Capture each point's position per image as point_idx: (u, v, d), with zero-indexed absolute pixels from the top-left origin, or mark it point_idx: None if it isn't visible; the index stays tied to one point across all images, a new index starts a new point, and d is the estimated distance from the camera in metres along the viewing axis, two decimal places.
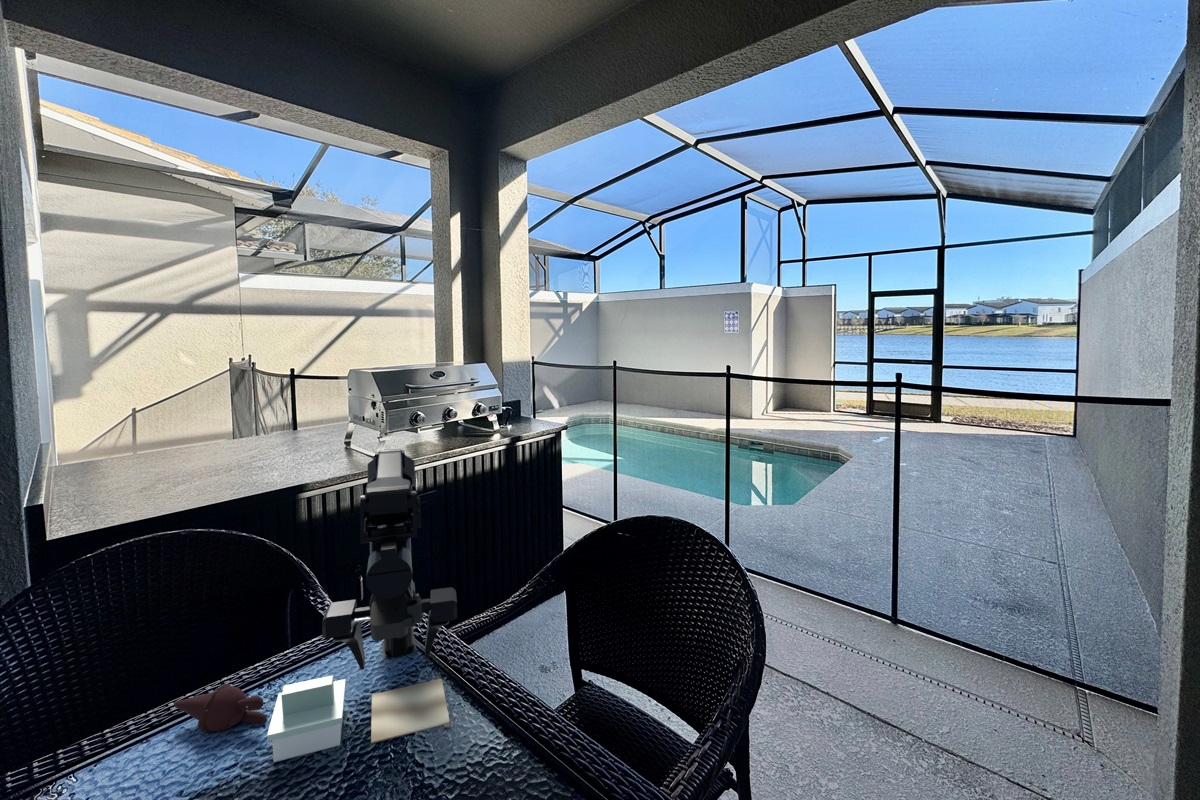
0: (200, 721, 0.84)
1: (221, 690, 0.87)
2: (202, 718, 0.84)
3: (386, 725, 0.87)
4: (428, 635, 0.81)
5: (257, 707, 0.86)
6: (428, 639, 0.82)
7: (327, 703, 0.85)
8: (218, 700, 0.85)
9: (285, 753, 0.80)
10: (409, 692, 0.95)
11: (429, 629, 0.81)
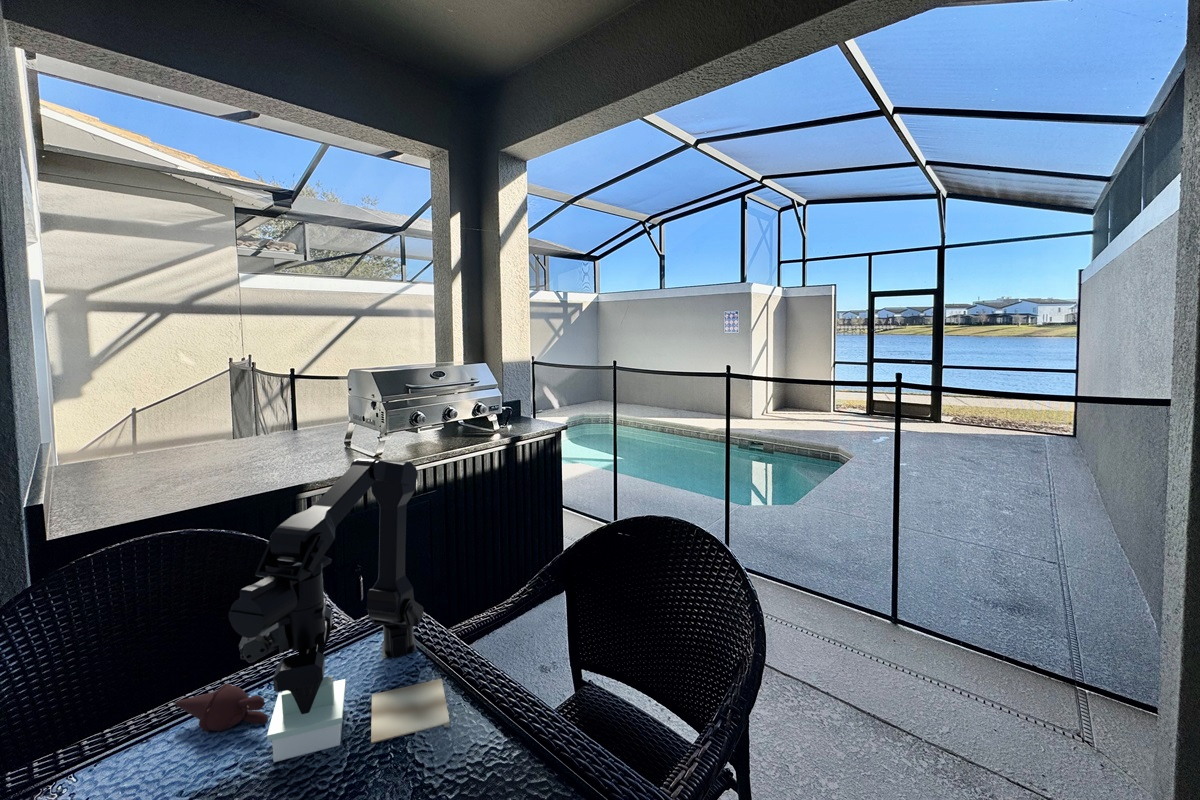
0: (201, 720, 0.84)
1: (222, 690, 0.87)
2: (203, 718, 0.84)
3: (386, 725, 0.87)
4: None
5: (258, 707, 0.86)
6: None
7: (327, 703, 0.85)
8: (219, 700, 0.85)
9: (285, 753, 0.80)
10: (409, 692, 0.95)
11: None
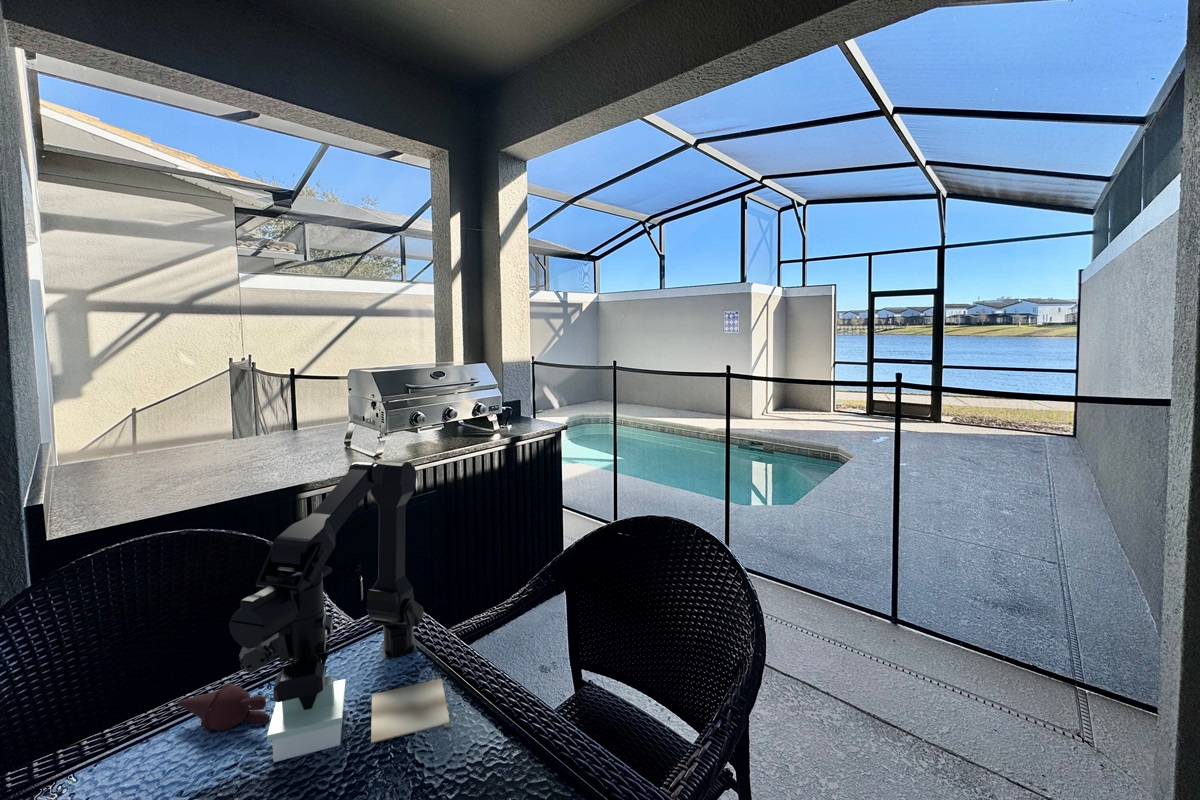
0: (203, 720, 0.84)
1: (224, 689, 0.87)
2: (205, 717, 0.84)
3: (386, 725, 0.87)
4: None
5: (260, 707, 0.86)
6: None
7: (327, 703, 0.85)
8: (221, 699, 0.85)
9: (285, 753, 0.80)
10: (409, 692, 0.95)
11: None
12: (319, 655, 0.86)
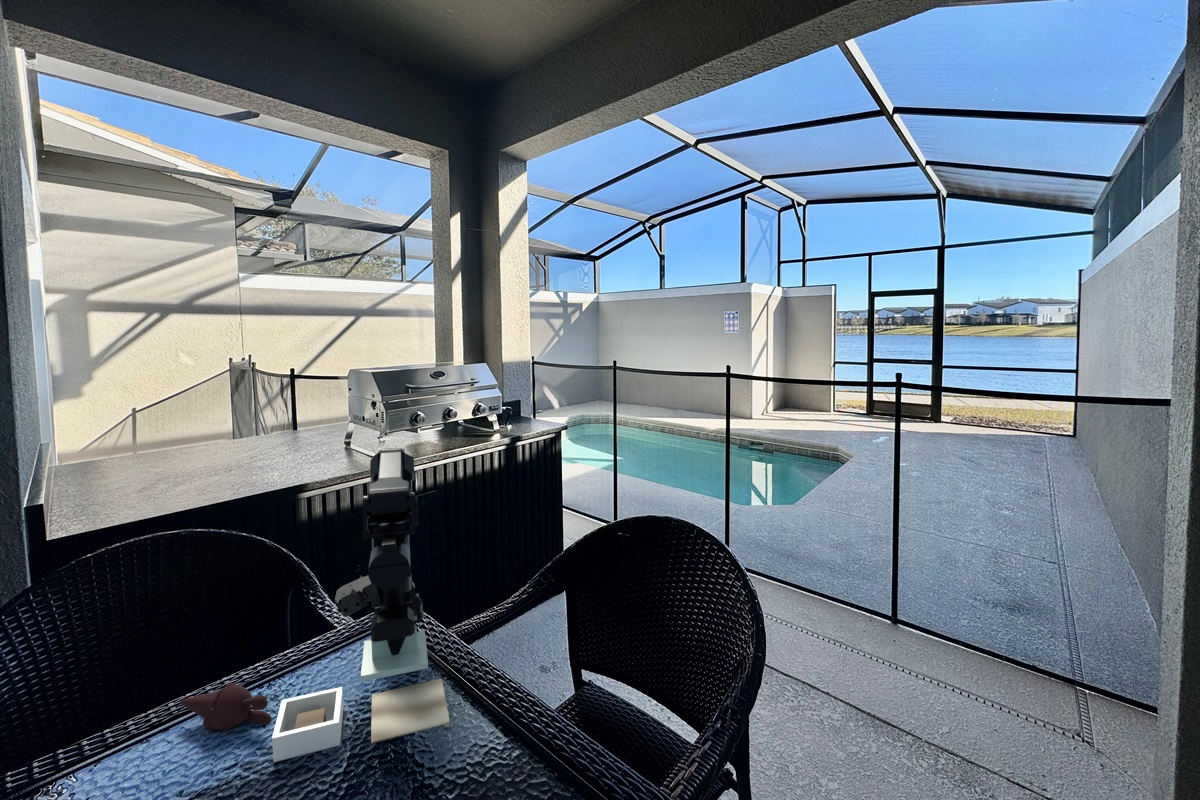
0: (205, 719, 0.84)
1: (226, 689, 0.87)
2: (207, 717, 0.84)
3: (386, 725, 0.87)
4: None
5: (261, 707, 0.86)
6: None
7: (412, 650, 0.89)
8: (223, 699, 0.85)
9: (285, 753, 0.80)
10: (409, 692, 0.95)
11: None
12: None
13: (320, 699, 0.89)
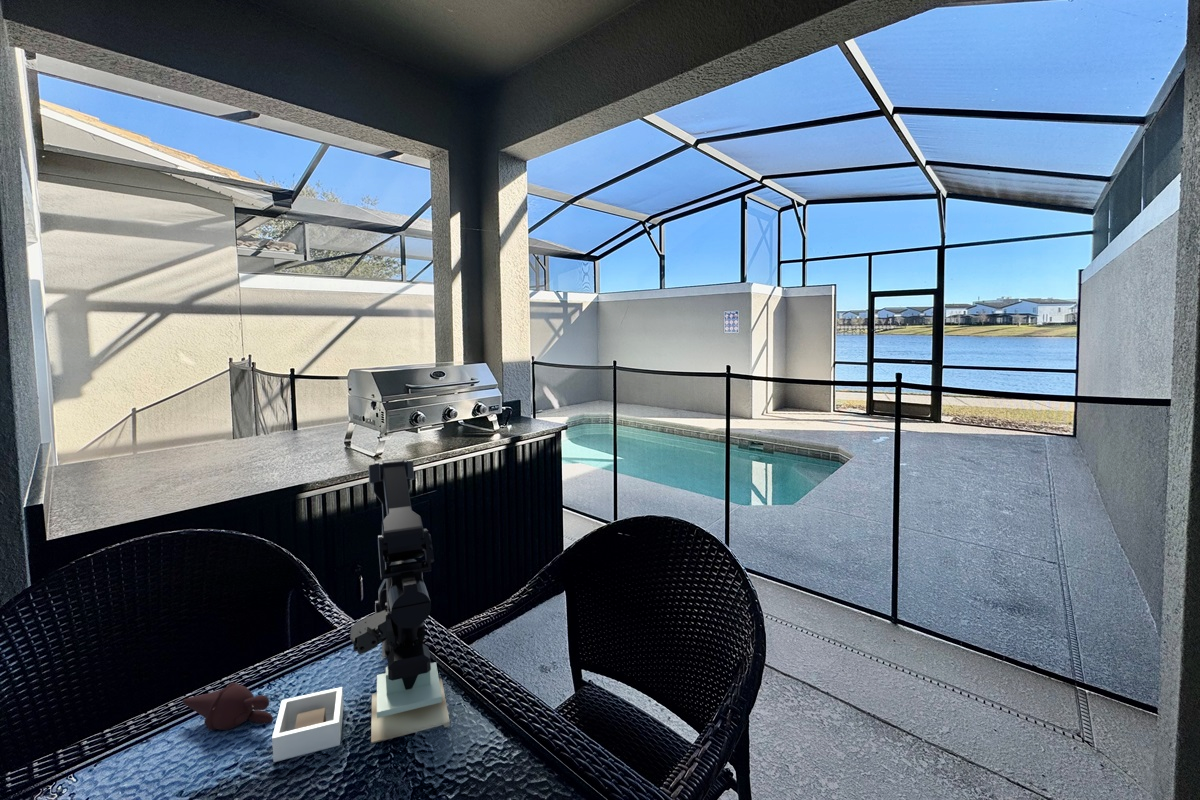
0: (207, 719, 0.84)
1: (228, 689, 0.87)
2: (209, 716, 0.84)
3: (386, 725, 0.87)
4: None
5: (263, 707, 0.86)
6: None
7: (425, 683, 0.91)
8: (224, 699, 0.86)
9: (285, 753, 0.80)
10: None
11: None
12: None
13: (320, 699, 0.89)
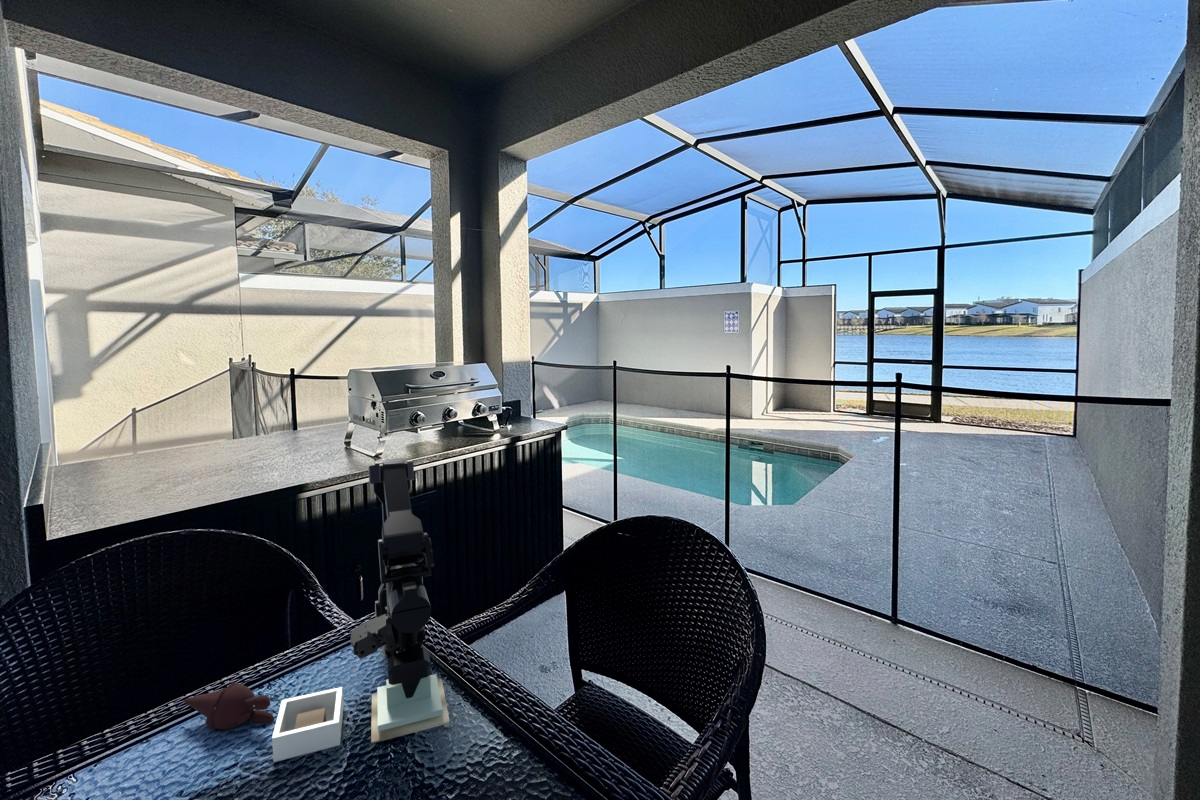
0: (208, 719, 0.84)
1: (229, 688, 0.87)
2: (210, 716, 0.84)
3: None
4: None
5: (264, 706, 0.86)
6: None
7: (426, 696, 0.91)
8: (226, 698, 0.86)
9: (285, 753, 0.80)
10: None
11: None
12: None
13: (320, 699, 0.89)
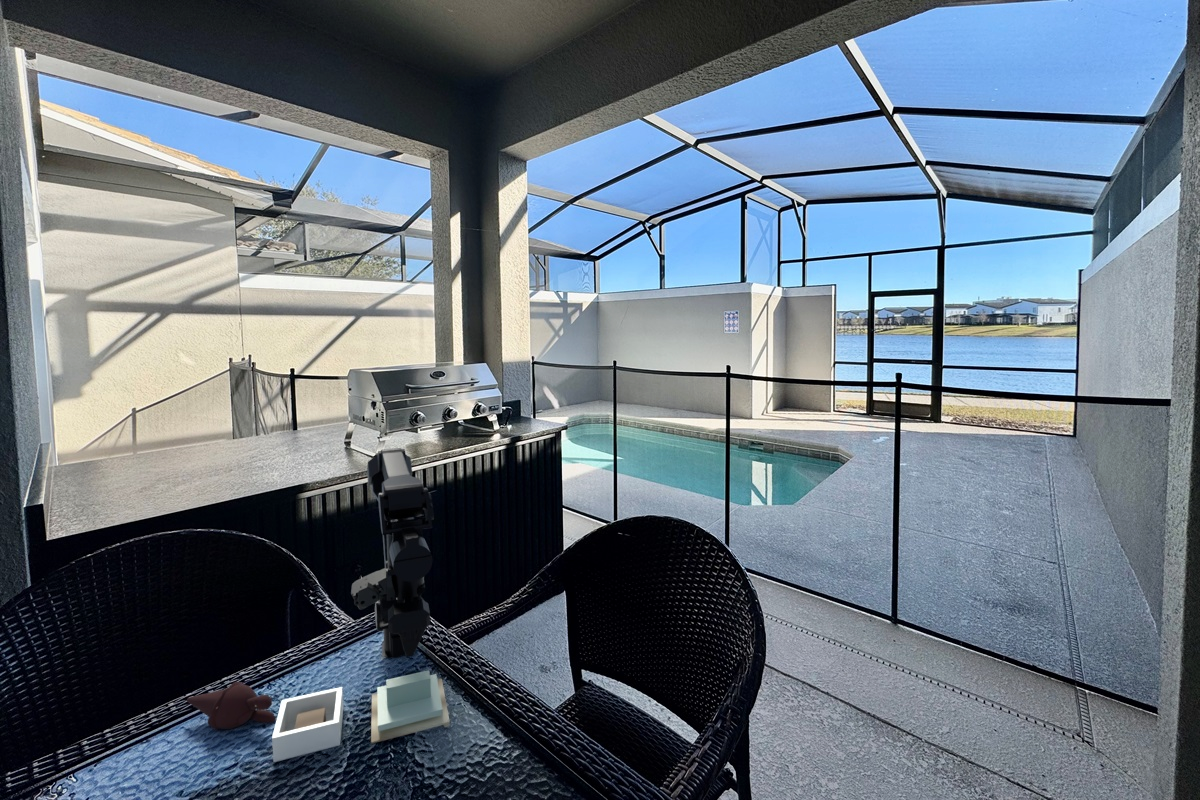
0: (210, 718, 0.84)
1: (231, 688, 0.87)
2: (212, 715, 0.84)
3: None
4: None
5: (265, 706, 0.86)
6: None
7: (426, 696, 0.91)
8: (228, 698, 0.86)
9: (285, 753, 0.80)
10: None
11: None
12: None
13: (320, 699, 0.89)
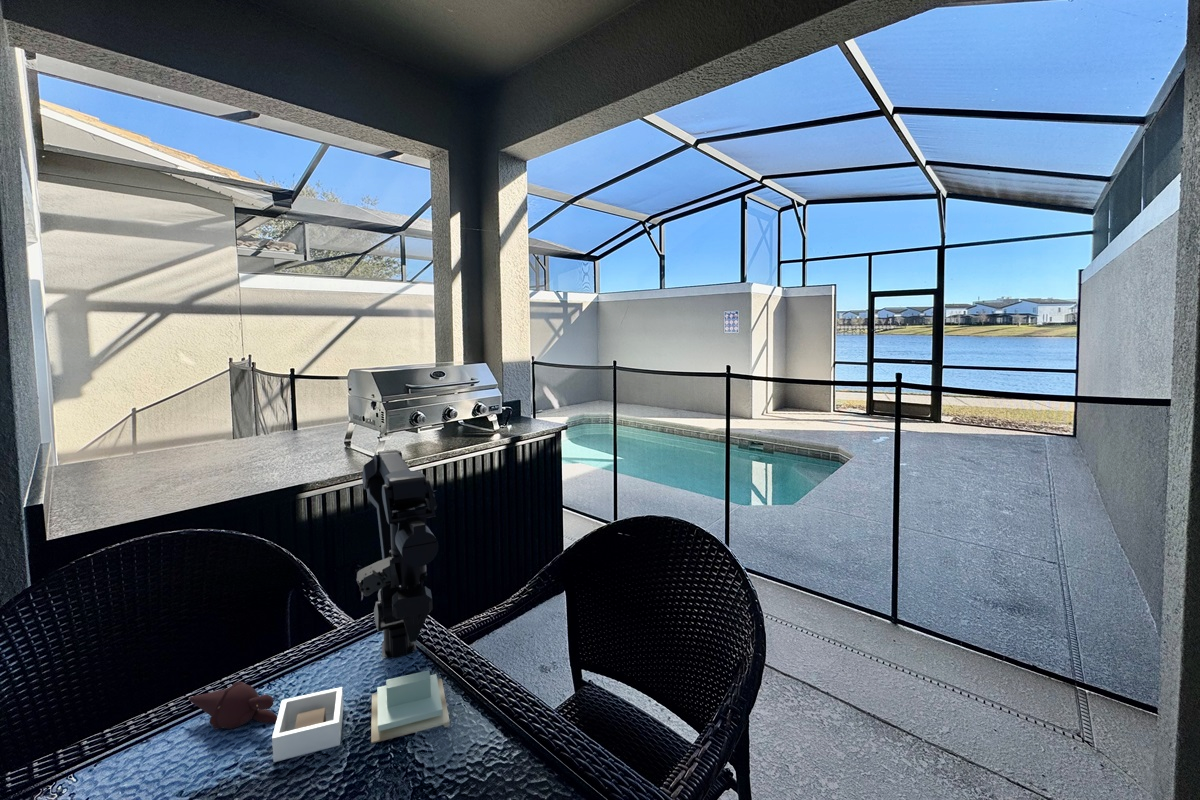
0: (212, 718, 0.84)
1: (233, 687, 0.87)
2: (214, 715, 0.84)
3: None
4: None
5: (267, 706, 0.86)
6: None
7: (426, 696, 0.91)
8: (230, 697, 0.86)
9: (285, 753, 0.80)
10: None
11: None
12: None
13: (320, 699, 0.89)
